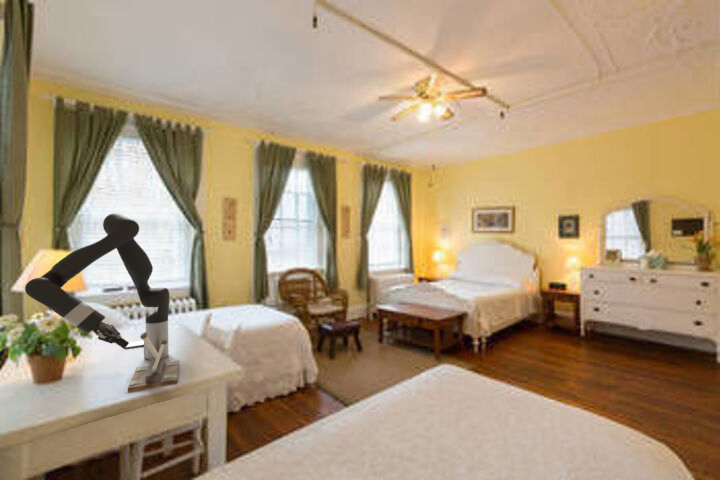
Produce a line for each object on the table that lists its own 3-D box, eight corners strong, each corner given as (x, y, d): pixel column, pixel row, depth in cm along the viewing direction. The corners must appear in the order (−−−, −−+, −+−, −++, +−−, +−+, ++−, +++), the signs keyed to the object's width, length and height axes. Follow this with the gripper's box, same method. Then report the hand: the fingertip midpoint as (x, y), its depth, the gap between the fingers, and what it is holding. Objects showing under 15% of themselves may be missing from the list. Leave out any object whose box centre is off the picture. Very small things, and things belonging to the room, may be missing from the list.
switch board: (127, 392, 119) (127, 380, 119) (136, 370, 137) (136, 360, 137) (177, 382, 126) (176, 371, 126) (179, 363, 145) (179, 354, 145)
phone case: (123, 350, 163) (160, 345, 171) (123, 347, 163) (160, 342, 171) (126, 345, 171) (161, 340, 179) (126, 342, 171) (161, 337, 179)
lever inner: (155, 361, 136) (140, 336, 133) (156, 358, 139) (141, 334, 137) (160, 359, 137) (144, 334, 134) (161, 356, 140) (145, 331, 137)
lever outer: (150, 373, 123) (162, 340, 125) (151, 369, 127) (163, 337, 128) (155, 373, 124) (167, 341, 126) (156, 369, 127) (168, 338, 129)
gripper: (89, 313, 111) (132, 342, 117) (98, 306, 122) (137, 333, 128) (69, 330, 108) (114, 359, 114) (81, 321, 120) (121, 348, 126)
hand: (126, 345), depth 121 cm, fingers closed
